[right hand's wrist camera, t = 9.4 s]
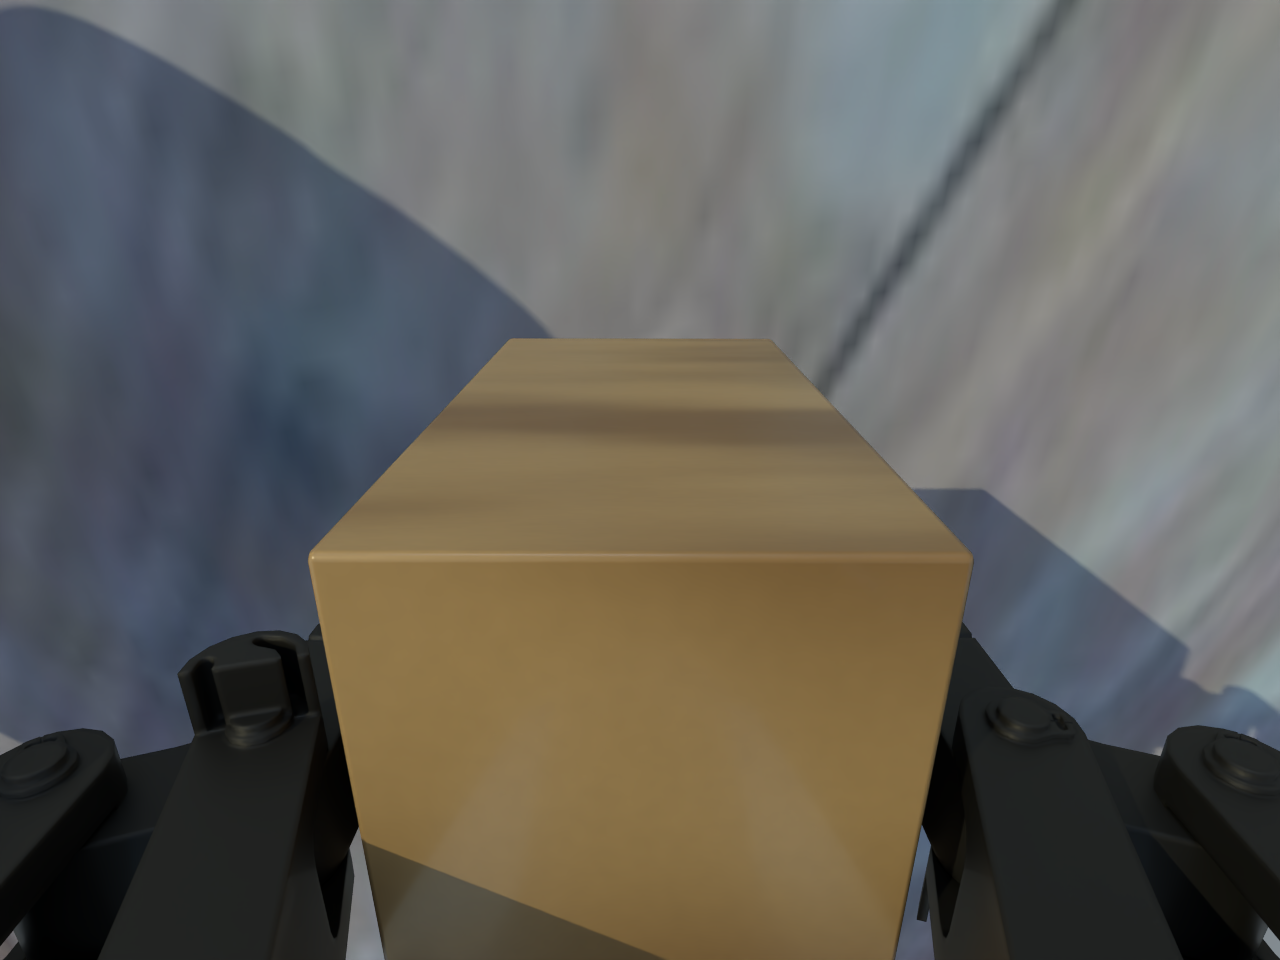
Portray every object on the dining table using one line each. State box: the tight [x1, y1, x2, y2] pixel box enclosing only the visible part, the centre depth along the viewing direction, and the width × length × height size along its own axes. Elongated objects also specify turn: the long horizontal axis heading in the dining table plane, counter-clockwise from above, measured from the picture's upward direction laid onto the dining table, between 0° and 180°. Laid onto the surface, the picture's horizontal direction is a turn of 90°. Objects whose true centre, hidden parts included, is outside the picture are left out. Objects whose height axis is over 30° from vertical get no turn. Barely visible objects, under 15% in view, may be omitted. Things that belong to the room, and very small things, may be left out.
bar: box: [308, 338, 974, 960], centre depth 13 cm, size 22×5×9 cm, turn 0°
